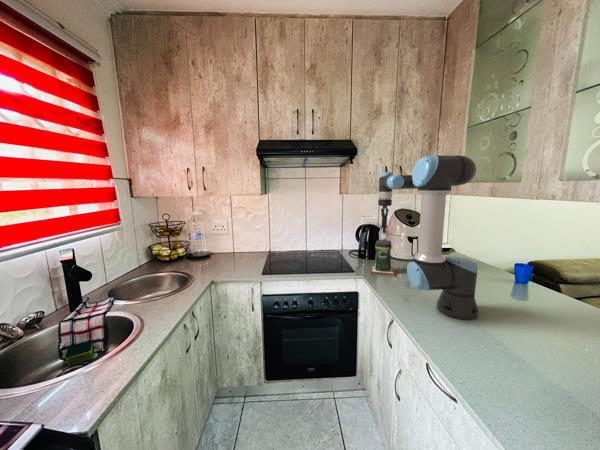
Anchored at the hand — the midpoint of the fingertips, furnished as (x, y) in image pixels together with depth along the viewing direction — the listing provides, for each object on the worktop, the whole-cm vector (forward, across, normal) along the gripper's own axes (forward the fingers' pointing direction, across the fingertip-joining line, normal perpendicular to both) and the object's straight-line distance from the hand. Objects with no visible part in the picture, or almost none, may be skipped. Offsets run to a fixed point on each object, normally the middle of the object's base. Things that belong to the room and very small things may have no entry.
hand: (383, 237), depth 151 cm
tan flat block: (+22, 0, 0) cm, 22 cm away
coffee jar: (+20, 0, 0) cm, 20 cm away
